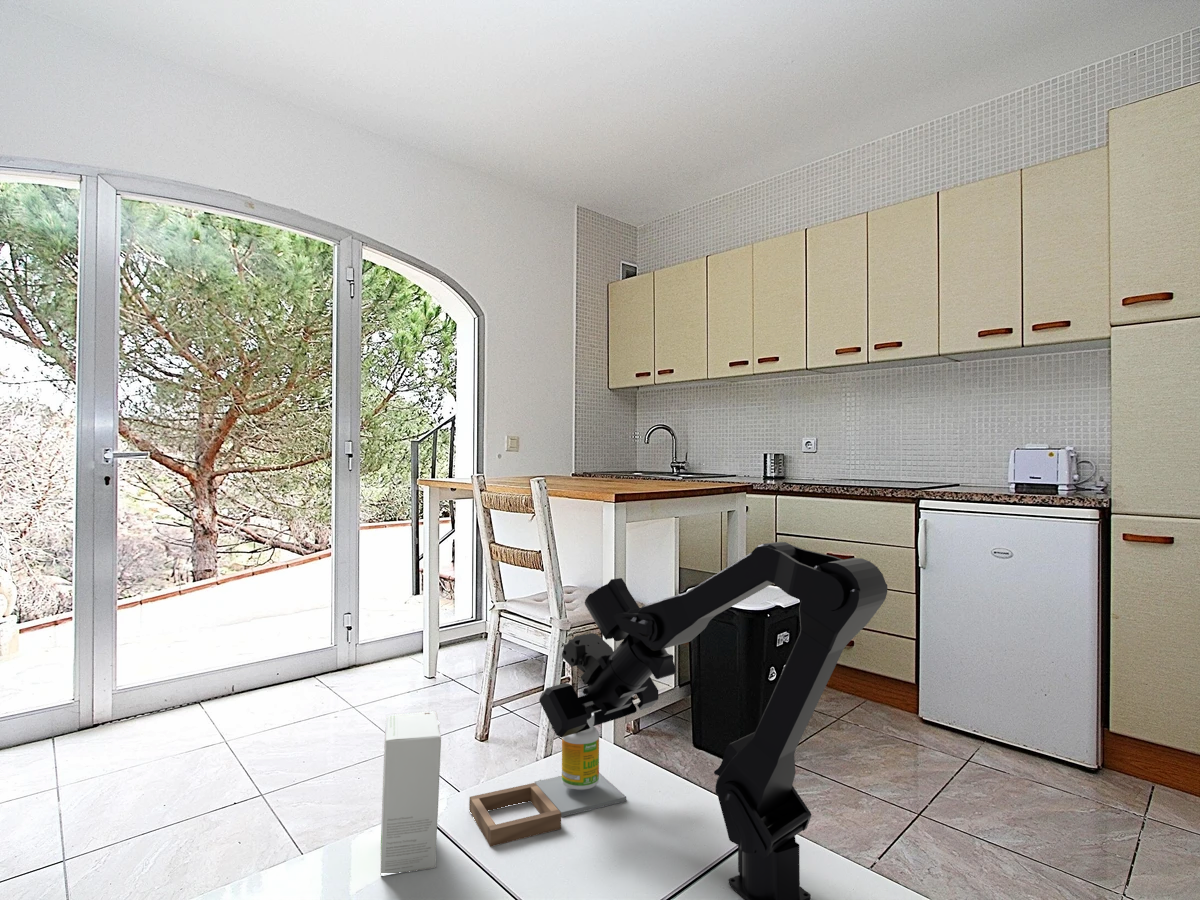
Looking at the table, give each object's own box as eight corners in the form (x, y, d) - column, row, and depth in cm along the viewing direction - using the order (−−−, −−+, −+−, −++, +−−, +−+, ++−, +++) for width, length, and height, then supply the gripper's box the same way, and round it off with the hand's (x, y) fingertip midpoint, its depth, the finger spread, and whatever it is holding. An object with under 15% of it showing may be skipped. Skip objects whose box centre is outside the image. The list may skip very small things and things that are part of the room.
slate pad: (626, 800, 92) (626, 796, 92) (561, 816, 88) (561, 812, 88) (594, 772, 101) (594, 768, 101) (534, 785, 97) (534, 781, 97)
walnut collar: (561, 828, 85) (561, 813, 85) (490, 846, 81) (490, 830, 81) (534, 797, 93) (534, 782, 93) (469, 811, 89) (469, 796, 89)
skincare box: (381, 840, 82) (384, 714, 83) (435, 832, 84) (437, 709, 85) (379, 879, 74) (382, 739, 75) (439, 869, 76) (442, 732, 77)
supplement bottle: (585, 794, 91) (586, 723, 91) (554, 784, 94) (554, 715, 94) (605, 779, 95) (606, 711, 96) (574, 771, 98) (575, 705, 99)
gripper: (643, 610, 99) (594, 669, 107) (548, 628, 87) (499, 694, 94) (684, 673, 93) (629, 731, 101) (588, 703, 80) (533, 767, 88)
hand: (574, 728), depth 96 cm, fingers closed on supplement bottle, 5 cm apart
